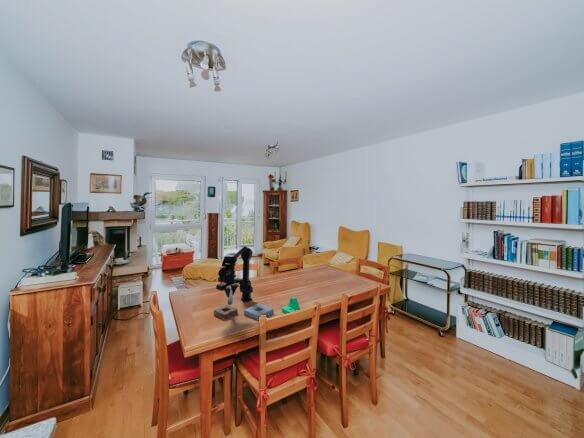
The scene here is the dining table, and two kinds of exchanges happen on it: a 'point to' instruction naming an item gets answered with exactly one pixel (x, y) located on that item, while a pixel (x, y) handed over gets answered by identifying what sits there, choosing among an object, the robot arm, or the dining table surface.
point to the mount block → (225, 311)
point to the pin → (230, 297)
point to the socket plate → (258, 311)
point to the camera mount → (291, 306)
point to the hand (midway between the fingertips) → (230, 296)
